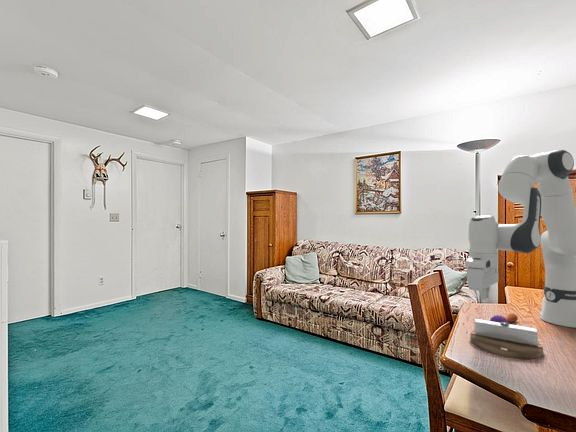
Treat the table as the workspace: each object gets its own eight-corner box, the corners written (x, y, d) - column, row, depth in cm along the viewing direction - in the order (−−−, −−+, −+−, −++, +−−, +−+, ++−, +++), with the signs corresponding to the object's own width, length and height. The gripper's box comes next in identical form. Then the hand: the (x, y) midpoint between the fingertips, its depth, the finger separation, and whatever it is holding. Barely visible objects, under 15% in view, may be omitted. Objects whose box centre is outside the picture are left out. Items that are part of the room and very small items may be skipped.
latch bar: (475, 334, 106) (475, 319, 106) (475, 330, 109) (475, 317, 109) (537, 345, 97) (537, 330, 97) (536, 341, 99) (536, 326, 99)
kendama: (523, 313, 125) (507, 320, 112) (519, 327, 125) (503, 335, 113) (506, 307, 130) (489, 313, 117) (503, 320, 130) (486, 328, 118)
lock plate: (473, 330, 117) (473, 323, 117) (540, 343, 105) (540, 335, 105) (467, 348, 101) (467, 341, 101) (545, 366, 89) (545, 357, 89)
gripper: (483, 256, 118) (485, 292, 118) (462, 262, 105) (464, 302, 105) (502, 258, 113) (504, 295, 113) (483, 264, 100) (484, 306, 100)
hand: (484, 298), depth 109 cm, fingers closed
